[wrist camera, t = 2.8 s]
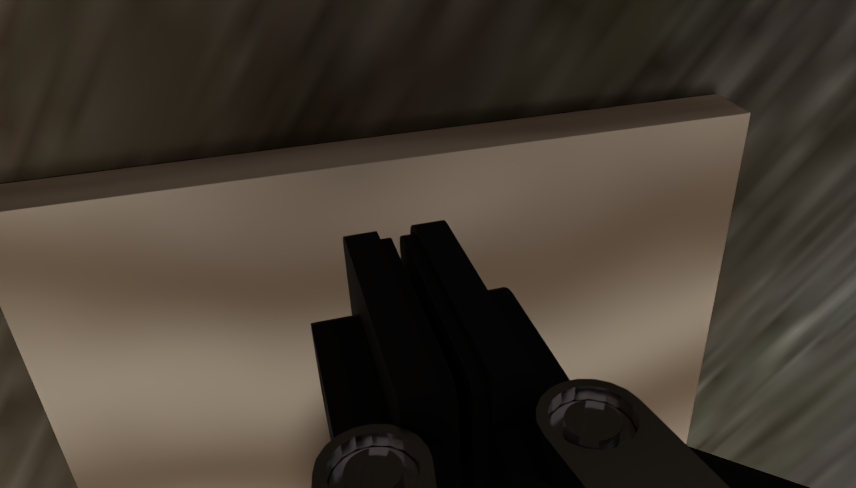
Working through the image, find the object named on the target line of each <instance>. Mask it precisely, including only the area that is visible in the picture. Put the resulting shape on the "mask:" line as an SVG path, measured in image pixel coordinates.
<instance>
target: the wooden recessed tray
mask: <svg viewBox="0 0 856 488" xmlns="http://www.w3.org/2000/svg"><path fill="white" fill-rule="evenodd" d="M750 114H751V113H750V112H748V111H747V110H745V109H743V108H741V107H739V106H738V105H736V104H734V103H732V102H730V101H729V100H727V99H725V98H723V97H721V96H720V95H718V94H712V95H704V96H696V97H688V98H680V99H672V100H664V101H656V102H648V103H640V104H632V105H624V106H616V107H609V108H601V109H593V110H585V111H577V112H569V113H561V114H553V115H545V116H537V117H529V118H521V119H513V120H505V121H497V122H489V123H481V124H473V125H465V126H458V127H450V128H442V129H434V130H426V131H418V132H410V133H402V134H394V135H386V136H378V137H370V138H362V139H354V140H346V141H338V142H330V143H322V144H314V145H307V146H299V147H291V148H283V149H275V150H267V151H259V152H251V153H243V154H235V155H227V156H219V157H211V158H203V159H195V160H187V161H179V162H171V163H163V164H156V165H148V166H140V167H132V168H124V169H116V170H108V171H100V172H92V173H84V174H76V175H68V176H60V177H52V178H44V179H36V180H28V181H20V182H12V183H5V184H0V307H1V309H2V311H3V314H4V316H5V318H6V321H7V323H8V325H9V328H10V330H11V332H12V335H13V337H14V339H15V342H16V344H17V346H18V349H19V351H20V353H21V356H22V358H23V360H24V363H25V365H26V367H27V370H28V372H29V374H30V377H31V379H32V381H33V384H34V386H35V388H36V391H37V393H38V395H39V398H40V400H41V402H42V405H43V407H44V409H45V412H46V414H47V416H48V419H49V421H50V423H51V426H52V428H53V430H54V433H55V435H56V437H57V440H58V442H59V444H60V447H61V449H62V451H63V454H64V456H65V458H66V461H67V463H68V465H69V468H70V470H71V472H72V475H73V477H74V479H75V482H76V484H77V486H78V488H311V484H312V472H313V468H314V464H315V460H316V458H317V456H318V455H319V453H320V452H321V450H322V449H323V447H324V446H325V445H326V444H328V443H329V442H330V441H331V439H330V434H329V429H328V424H327V418H326V413H325V408H324V402H323V397H322V391H321V385H320V380H319V374H318V368H317V362H316V355H315V349H314V343H313V336H312V330H311V323H314V322H320V321H325V320H330V319H336V318H341V317H346V316H352V312H351V304H350V296H349V288H348V279H347V271H346V263H345V255H344V246H343V236H349V235H355V234H361V233H367V232H374V231H377V233H378V235H379V237H380V239H385V238H392V240H393V243H394V245H395V247H396V249H397V252H398V254H399V256H400V258H401V254H400V236H403V235H409V234H410V229H411V225H416V224H422V223H428V222H434V221H440V220H445V221H446V222H447V224H448V225H449V227H450V229H451V230H452V232H453V234H454V235H455V237H456V239H457V240H458V242H459V243H460V245H461V247H462V248H463V250H464V252H465V253H466V255H467V257H468V258H469V260H470V262H471V263H472V265H473V266H474V268H475V270H476V271H477V273H478V275H479V276H480V278H481V280H482V281H483V283H484V285H485V286H486V288H487V289H488V290H491V289H496V288H501V287H506V288H509V289H510V291H511V292H512V293H513V294H514V296H515V297H516V299H517V300H518V302H519V303H520V305H521V306H522V308H523V309H524V311H525V312H526V314H527V316H528V317H529V319H530V320H531V322H532V323H533V325H534V326H535V328H536V329H537V331H538V332H539V334H540V335H541V337H542V338H543V340H544V341H545V343H546V344H547V346H548V347H549V349H550V350H551V352H552V353H553V355H554V356H555V358H556V360H557V361H558V363H559V364H560V366H561V367H562V369H563V370H564V372H565V373H566V375H567V376H568V378H569V379H570V380H574V379H597V380H602V381H606V382H611V383H614V384H616V385H618V386H620V387H623V388H625V389H627V390H628V391H630V392H631V393H632V394H634V395H635V396H636V397H638V398H639V399H640V400H641V401H642V402H643V403H644V404H645V405H646V406H647V407H648V408H649V409H650V410H652V411H653V412H654V413H655V414H656V415H657V416H658V417H659V418H660V419H661V420H662V421H663V422H664V423H665V424H666V425H667V426H668V427H669V428H670V429H671V430H672V431H673V432H674V433H675V434H676V435H677V436H678V437H679V438H680V439H681V440H682V441H683V442H684V443H685V444H686V442H687V437H688V432H689V427H690V422H691V416H692V411H693V406H694V401H695V396H696V391H697V386H698V381H699V375H700V370H701V365H702V360H703V355H704V350H705V345H706V340H707V334H708V329H709V324H710V319H711V314H712V309H713V304H714V299H715V293H716V288H717V283H718V278H719V273H720V268H721V263H722V258H723V252H724V247H725V242H726V237H727V232H728V227H729V222H730V217H731V211H732V206H733V201H734V196H735V191H736V186H737V181H738V176H739V170H740V165H741V160H742V155H743V150H744V145H745V140H746V135H747V129H748V124H749V119H750Z"/></svg>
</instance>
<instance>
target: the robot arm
mask: <svg viewBox="0 0 856 488" xmlns="http://www.w3.org/2000/svg"><path fill="white" fill-rule="evenodd" d="M343 246H344V255H345V263H346V271H347V279H348V288H349V296H350V304H351V312H352V316H346V317H341V318H336V319H330V320H325V321H320V322H314V323H311V330H312V336H313V343H314V349H315V355H316V362H317V368H318V374H319V380H320V385H321V391H322V397H323V402H324V408H325V413H326V418H327V424H328V429H329V434H330V439H331V441H330V442H329V443H328V444H326V445H325V446H324V447H323V449H322V450H321V452H320V453H319V455H318V456H317V458H316V460H315V464H314V468H313V472H312V484H311V488H809V487H806V486H803V485H800V484H797V483H794V482H791V481H789V480H786V479H783V478H780V477H777V476H774V475H771V474H768V473H765V472H762V471H759V470H756V469H753V468H750V467H747V466H744V465H741V464H738V463H735V462H732V461H730V460H727V459H724V458H721V457H718V456H715V455H712V454H709V453H706V452H703V451H700V450H697V449H694V448H691V447H688V446H687V445H686V444H685V443H684V442H683V441H682V440H681V439H680V438H679V437H678V436H677V435H676V434H675V433H674V432H673V431H672V430H671V429H670V428H669V427H668V426H667V425H666V424H665V423H664V422H663V421H662V420H661V419H660V418H659V417H658V416H657V415H656V414H655V413H654V412H653V411H652V410H650V409H649V408H648V407H647V406H646V405H645V404H644V403H643V402H642V401H641V400H640V399H639V398H638V397H636V396H635V395H634V394H632V393H631V392H630V391H628V390H627V389H625V388H623V387H620V386H618V385H616V384H614V383H611V382H606V381H602V380H597V379H574V380H570V379H569V378H568V376H567V375H566V373H565V372H564V370H563V369H562V367H561V366H560V364H559V363H558V361H557V360H556V358H555V356H554V355H553V353H552V352H551V350H550V349H549V347H548V346H547V344H546V343H545V341H544V340H543V338H542V337H541V335H540V334H539V332H538V331H537V329H536V328H535V326H534V325H533V323H532V322H531V320H530V319H529V317H528V316H527V314H526V312H525V311H524V309H523V308H522V306H521V305H520V303H519V302H518V300H517V299H516V297H515V296H514V294H513V293H512V292H511V291H510V289H509V288H506V287H501V288H496V289H491V290H488V289H487V288H486V286H485V285H484V283H483V281H482V280H481V278H480V276H479V275H478V273H477V271H476V270H475V268H474V266H473V265H472V263H471V262H470V260H469V258H468V257H467V255H466V253H465V252H464V250H463V248H462V247H461V245H460V243H459V242H458V240H457V239H456V237H455V235H454V234H453V232H452V230H451V229H450V227H449V225H448V224H447V222H446V221H445V220H440V221H434V222H428V223H422V224H416V225H411V229H410V234H409V235H403V236H400V254H401V258H400V256H399V254H398V252H397V249H396V247H395V245H394V243H393V240H392V238H385V239H380V237H379V235H378V233H377V231H374V232H367V233H361V234H355V235H349V236H343Z"/></svg>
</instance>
